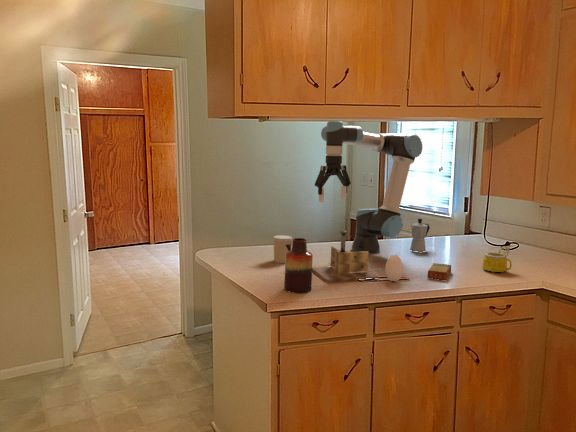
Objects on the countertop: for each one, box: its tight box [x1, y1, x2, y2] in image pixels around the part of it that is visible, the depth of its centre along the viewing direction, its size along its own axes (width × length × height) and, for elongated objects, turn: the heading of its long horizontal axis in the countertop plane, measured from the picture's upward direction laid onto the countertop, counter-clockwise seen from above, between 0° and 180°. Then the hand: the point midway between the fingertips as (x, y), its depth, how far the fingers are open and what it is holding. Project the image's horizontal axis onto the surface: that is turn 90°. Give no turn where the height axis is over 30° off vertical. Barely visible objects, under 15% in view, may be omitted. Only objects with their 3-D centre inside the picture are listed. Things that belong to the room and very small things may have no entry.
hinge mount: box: [312, 246, 380, 283], centre depth 226 cm, size 24×20×11 cm
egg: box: [384, 254, 404, 282], centre depth 217 cm, size 7×7×12 cm
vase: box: [284, 237, 314, 294], centre depth 202 cm, size 11×11×20 cm
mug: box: [481, 246, 513, 273], centre depth 240 cm, size 13×11×12 cm
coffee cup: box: [272, 234, 293, 264], centre depth 247 cm, size 9×9×12 cm
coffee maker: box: [409, 218, 430, 252], centre depth 278 cm, size 15×9×18 cm, turn 129°
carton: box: [427, 262, 452, 281], centre depth 230 cm, size 8×16×4 cm, turn 156°
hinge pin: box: [339, 229, 348, 252], centre depth 222 cm, size 3×3×11 cm
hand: (332, 200), depth 238 cm, fingers open, 13 cm apart
